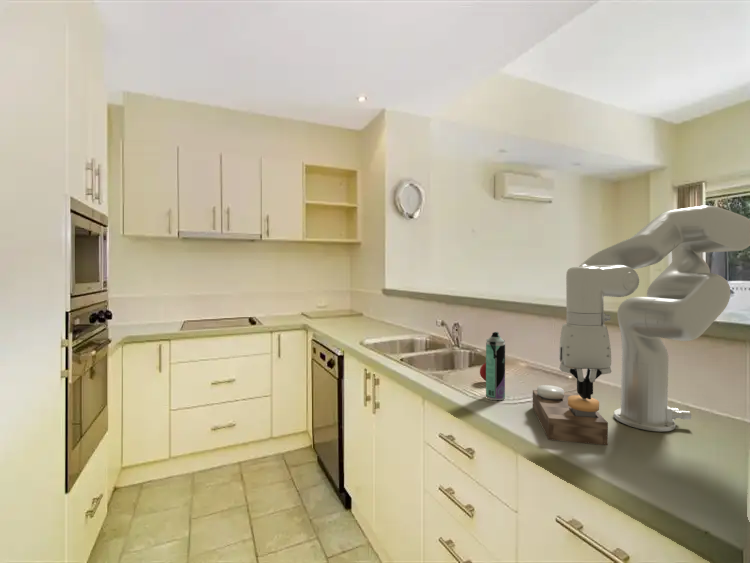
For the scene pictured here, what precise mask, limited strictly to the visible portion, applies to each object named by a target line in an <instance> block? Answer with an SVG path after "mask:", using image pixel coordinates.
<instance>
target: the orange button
mask: <svg viewBox="0 0 750 563" xmlns="http://www.w3.org/2000/svg"><path fill="white" fill-rule="evenodd" d="M568 406H569V407H571V412H572V413H573V415H574V416H580V417H593V418H596V411H597V412H598V411H599V410H600V401H599V400H598V399H596V398H593V397H591V399H587V398H586V399H583V398H582V397H581V396H580V395H573V396H569V397H568Z"/></svg>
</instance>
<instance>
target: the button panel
mask: <svg viewBox="0 0 750 563" xmlns="http://www.w3.org/2000/svg"><path fill="white" fill-rule="evenodd" d="M573 395H579V394H578V393H577V392H567V391H566V392H565V391H564V398H562V399H561V401H556V400H542V398H541V396H539V395H538V394H537V389H536V390H535V389H532V409H533V411H534V413H535V415H536V418H537V420H538V421H539V424H540V425H541V427H542V429H543V431H544V433H545V435H546V437H547V439H548V440H549V441H557V440H558V441H560V442H568V443H569V442H570V443H580V444H590V445H591V444H592V445H602V446H603V445H604V446H608V444H609V442H608V441H609V440H608V439H609V423H608V421H607V420H606V419H605V417H603V416H602V414H600V412H598V411H596V418H593V417H580V416H574V415H573V413H572V412H571V407H569V406H568V397H569V396H573Z"/></svg>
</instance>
